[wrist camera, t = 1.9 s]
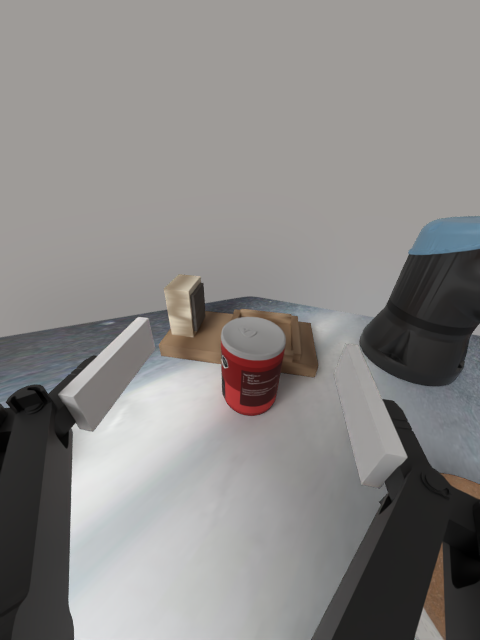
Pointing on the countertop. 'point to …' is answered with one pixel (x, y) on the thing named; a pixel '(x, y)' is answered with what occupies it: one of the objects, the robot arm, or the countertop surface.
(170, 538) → the countertop surface
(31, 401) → the robot arm
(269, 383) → the canned food
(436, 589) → the lidded jar
